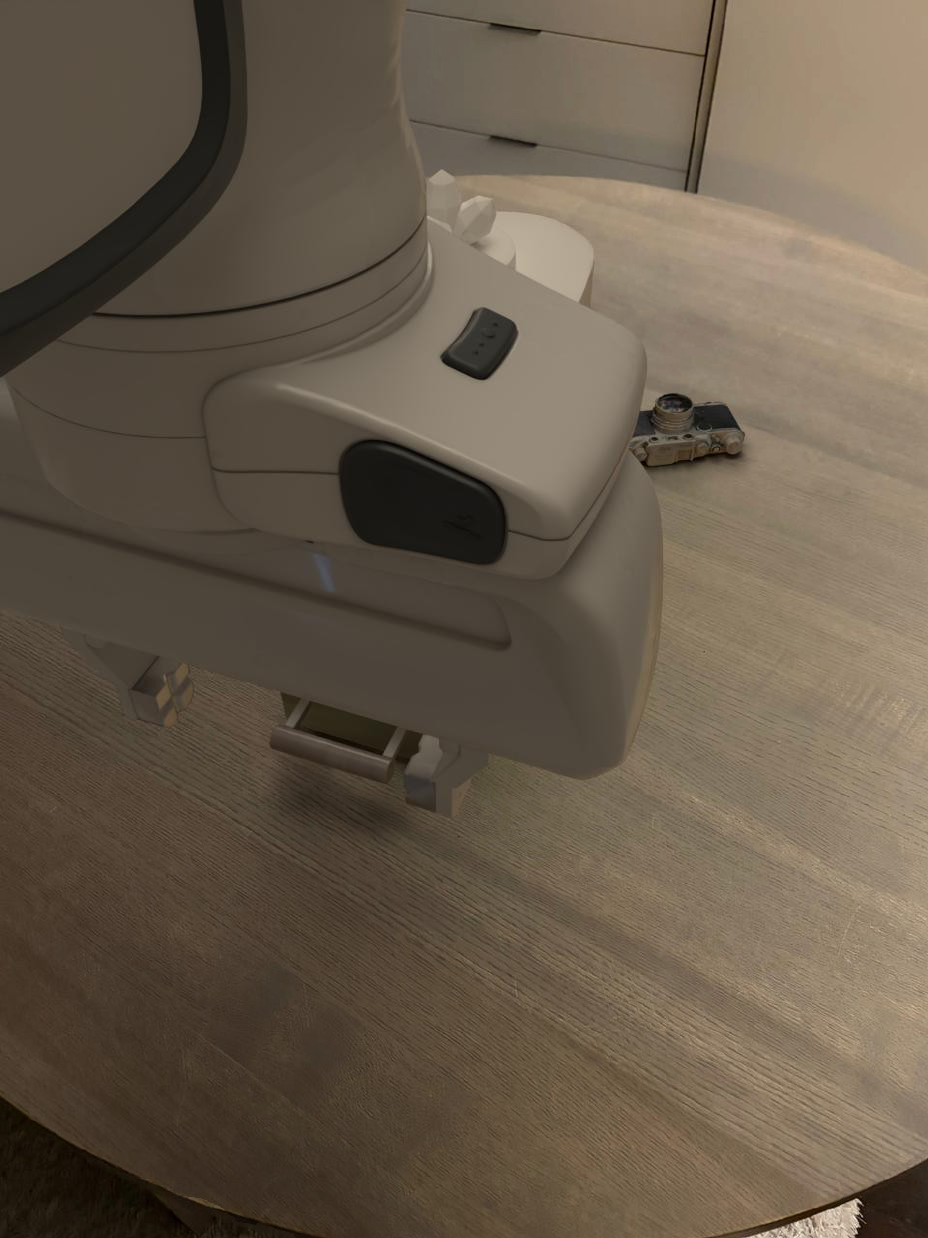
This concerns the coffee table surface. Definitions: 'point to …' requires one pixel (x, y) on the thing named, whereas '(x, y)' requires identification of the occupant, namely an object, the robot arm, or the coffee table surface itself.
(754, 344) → the coffee table surface
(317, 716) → the drawer
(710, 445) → the camera
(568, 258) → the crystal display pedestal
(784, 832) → the coffee table surface
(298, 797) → the coffee table surface
